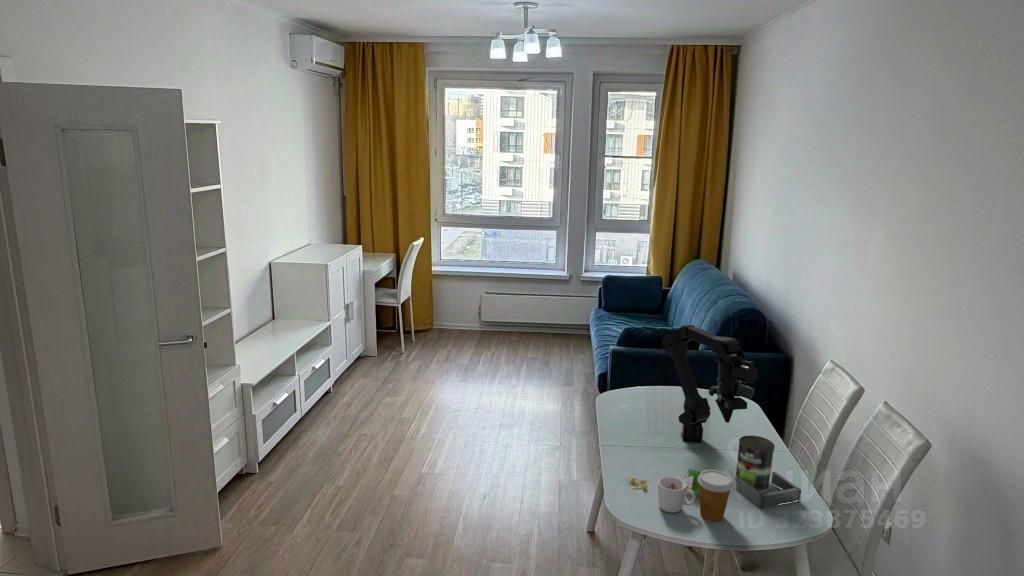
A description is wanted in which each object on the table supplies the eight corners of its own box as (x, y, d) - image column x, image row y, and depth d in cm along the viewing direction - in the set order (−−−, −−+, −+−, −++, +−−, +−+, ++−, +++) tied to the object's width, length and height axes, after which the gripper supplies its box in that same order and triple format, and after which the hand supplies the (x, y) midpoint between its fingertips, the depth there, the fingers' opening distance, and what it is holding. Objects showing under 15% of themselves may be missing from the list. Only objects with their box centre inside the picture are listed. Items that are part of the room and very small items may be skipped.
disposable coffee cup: (735, 523, 186) (740, 484, 183) (704, 526, 184) (708, 487, 181) (718, 505, 195) (722, 467, 192) (688, 508, 193) (692, 470, 190)
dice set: (630, 482, 208) (630, 476, 207) (646, 484, 207) (647, 478, 206) (629, 490, 203) (630, 485, 202) (647, 492, 202) (647, 487, 202)
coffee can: (761, 496, 200) (766, 453, 197) (728, 484, 207) (733, 442, 204) (775, 484, 208) (780, 442, 204) (743, 472, 214) (747, 432, 211)
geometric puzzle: (686, 474, 208) (684, 462, 202) (708, 479, 205) (707, 467, 199) (681, 495, 204) (679, 483, 198) (704, 501, 201) (703, 489, 195)
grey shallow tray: (736, 489, 204) (737, 477, 203) (773, 483, 208) (775, 471, 207) (760, 509, 193) (762, 496, 193) (799, 501, 198) (801, 489, 197)
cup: (695, 505, 194) (697, 481, 192) (693, 520, 187) (695, 494, 185) (657, 498, 198) (659, 474, 196) (654, 512, 190) (656, 487, 188)
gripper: (763, 383, 211) (762, 430, 213) (740, 368, 230) (739, 412, 232) (729, 384, 210) (728, 432, 212) (708, 370, 229) (708, 414, 231)
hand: (727, 422), depth 222 cm, fingers closed
